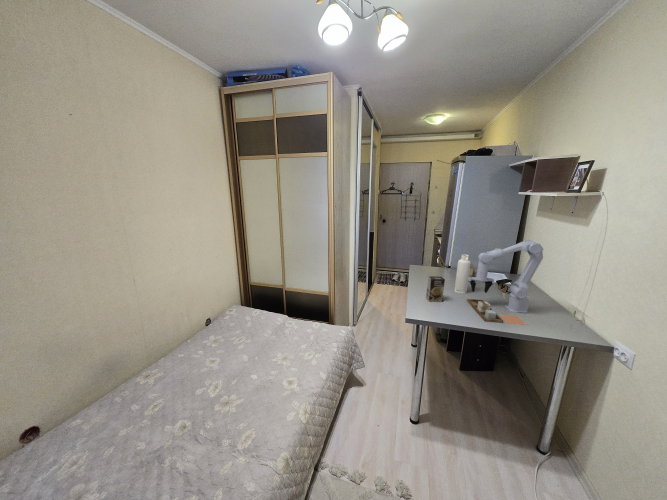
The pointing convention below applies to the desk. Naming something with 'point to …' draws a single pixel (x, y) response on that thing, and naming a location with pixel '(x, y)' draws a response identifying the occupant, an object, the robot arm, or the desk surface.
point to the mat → (512, 319)
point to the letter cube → (483, 306)
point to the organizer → (482, 314)
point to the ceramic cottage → (473, 272)
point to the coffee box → (435, 289)
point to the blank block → (490, 314)
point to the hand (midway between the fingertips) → (479, 291)
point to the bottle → (462, 274)
